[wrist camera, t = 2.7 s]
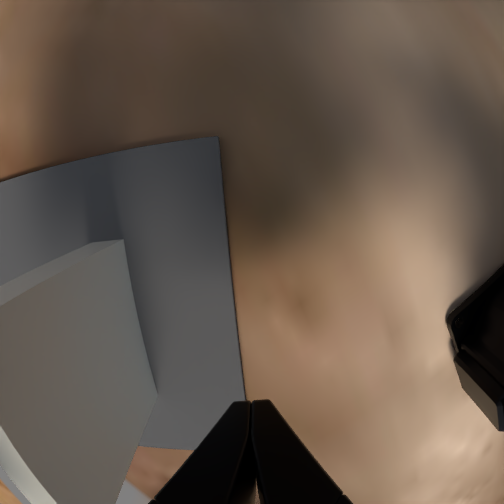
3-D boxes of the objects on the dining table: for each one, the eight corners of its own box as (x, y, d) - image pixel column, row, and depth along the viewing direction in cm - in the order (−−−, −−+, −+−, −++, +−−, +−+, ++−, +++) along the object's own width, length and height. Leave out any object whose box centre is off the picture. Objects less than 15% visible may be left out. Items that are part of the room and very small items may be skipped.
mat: (219, 137, 11) (217, 136, 10) (251, 444, 14) (251, 449, 13) (-66, 208, 11) (-70, 209, 11) (-4, 408, 14) (-7, 411, 14)
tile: (123, 239, 11) (-43, 333, 3) (158, 395, 13) (99, 546, 5) (86, 243, 11) (-79, 325, 3) (124, 393, 13) (53, 530, 5)
